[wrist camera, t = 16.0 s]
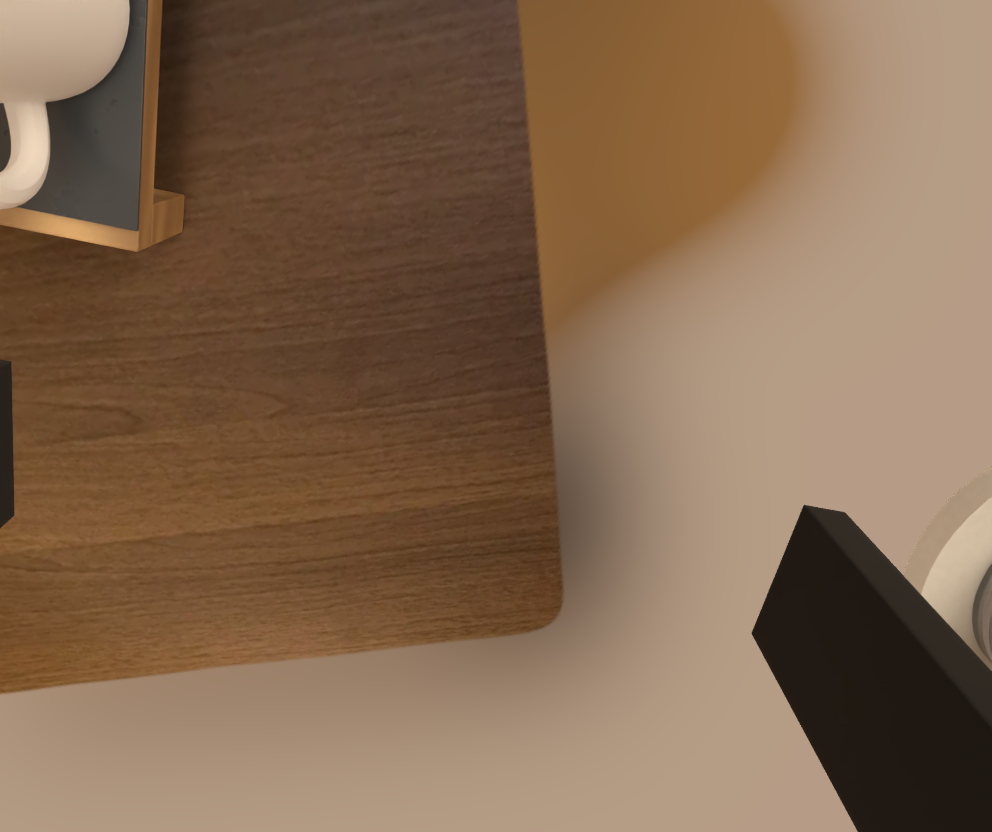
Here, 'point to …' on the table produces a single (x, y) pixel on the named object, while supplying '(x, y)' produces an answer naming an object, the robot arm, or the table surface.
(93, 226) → the shelf
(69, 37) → the mug
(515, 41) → the table surface
